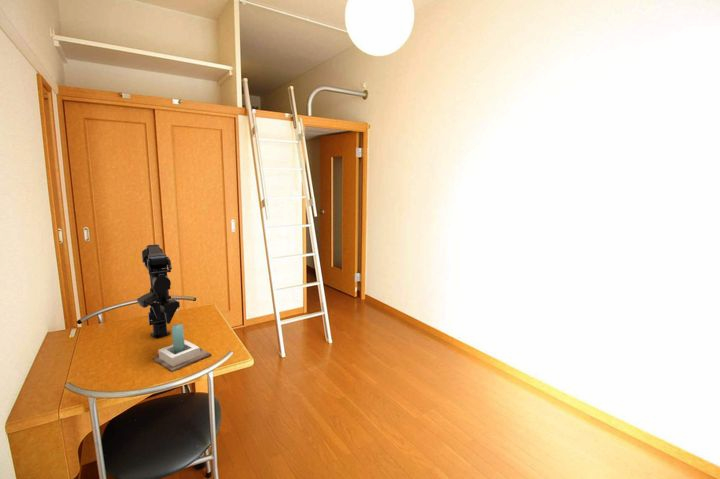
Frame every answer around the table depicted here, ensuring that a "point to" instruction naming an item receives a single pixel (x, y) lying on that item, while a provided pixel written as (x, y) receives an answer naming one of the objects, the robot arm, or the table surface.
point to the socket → (179, 354)
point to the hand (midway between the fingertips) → (163, 321)
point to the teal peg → (178, 338)
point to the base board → (202, 356)
